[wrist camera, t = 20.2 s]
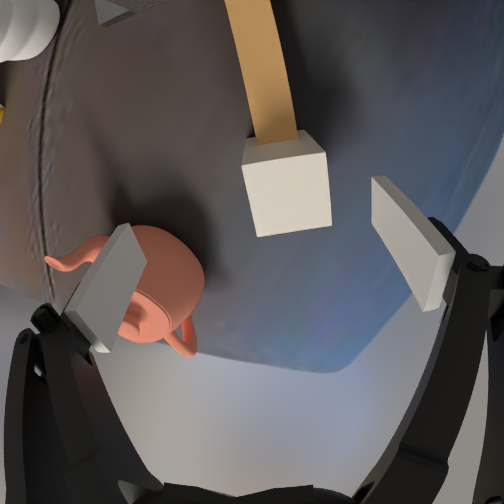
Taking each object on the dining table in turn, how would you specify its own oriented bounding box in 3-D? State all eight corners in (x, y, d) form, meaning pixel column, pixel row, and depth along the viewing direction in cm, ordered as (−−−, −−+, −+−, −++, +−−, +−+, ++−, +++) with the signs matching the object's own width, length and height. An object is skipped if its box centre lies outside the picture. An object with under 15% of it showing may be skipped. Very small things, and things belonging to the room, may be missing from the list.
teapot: (173, 326, 36) (158, 386, 28) (68, 238, 28) (26, 290, 21) (240, 285, 32) (236, 354, 24) (119, 170, 24) (66, 216, 16)
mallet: (210, -12, 14) (190, -48, 8) (271, -23, 14) (278, -63, 7) (258, 197, 26) (259, 244, 19) (311, 188, 25) (332, 233, 18)
